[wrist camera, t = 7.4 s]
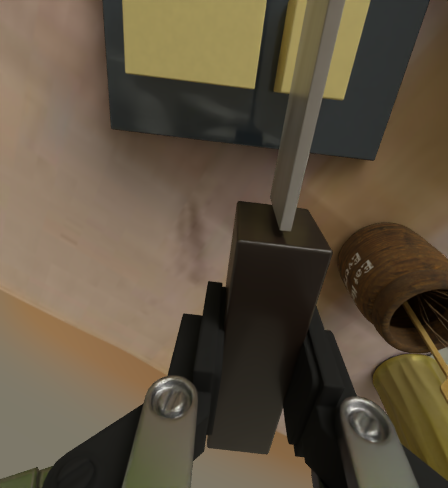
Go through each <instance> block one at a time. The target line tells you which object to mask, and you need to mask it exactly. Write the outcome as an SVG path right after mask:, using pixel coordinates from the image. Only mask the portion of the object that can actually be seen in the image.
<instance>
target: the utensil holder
mask: <svg viewBox="0 0 448 488" xmlns="http://www.w3.org/2000/svg"><path fill="white" fill-rule="evenodd" d="M338 268H339V272H340V275H341V278H342V280H343V282H344V284H345V286H346V288H347V290H348V291H349V293H350V295H351V297H352V299H353V300H354V302H355V304H356V306H357V307H358V309H359V310H360V312H361V313H362V314H363V316H364V317H365V318H366V319H367V320H368V321H369V322H371V323H372V324H373V325H374V326H375V328H376V330H377V331H378V333H379V334H380V335H381V336H382V337H383V338H384V340H385V341H386V342H387V343H388V344H390V345H391V346H392V347H394V348H396V349H398V350H401V351H404V352H409V353H428V352H431V354H432V355H433V357H434V358H435V360H436V362H437V363H438V365H439V367H440V368H441V370H442V372H443V373H444V375H445V377H446V380H445V381H444V382H443V383H442V384H441V385H440V392H441V394H442V395H443V397H444V399H445V401H446V402H447V404H448V366H447V364H446V363H445V361H444V360H443V358H442V356H441V355H440V353H439V352H438V350H441V349H443V348H447V349H448V259H447V258H446V257H445V256H444V255H443V254H442V253H441V252H439V251H438V250H437V249H436V248H434V247H433V246H432V245H431V244H430V243H428V242H427V241H426V240H425V239H423V238H422V237H421V236H419V235H418V234H417V233H415V232H414V231H412V230H411V229H409V228H407V227H405V226H402V225H399V224H395V223H378V224H373V225H370V226H367V227H365V228H363V229H361V230H359V231H358V232H356V233H355V234H353V235H352V236H351V237H350V238H349V239H348V240H347V241H346V243H345V244H344V246H343V247H342V249H341V252H340V254H339V259H338Z"/></svg>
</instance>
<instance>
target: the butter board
mask: <svg viewBox="0 0 448 488" xmlns="http://www.w3.org/2000/svg"><path fill="white" fill-rule="evenodd" d="M429 1H430V0H371V1H370V4H369V8H368V12H367V15H366V19H365V23H364V26H363V30H362V34H361V37H360V41H359V45H358V48H357V52H356V56H355V60H354V63H353V67H352V71H351V74H350V78H349V82H348V85H347V89H346V93H345V96H344V99H343V100H334V99H325V98H322V102H321V106H320V110H319V115H318V119H317V123H316V127H315V131H314V136H313V140H312V144H311V148H310V153H313V154H321V155H330V156H338V157H346V158H354V159H363V160H371V161H374V160H375V157H376V155H377V152H378V149H379V146H380V143H381V140H382V137H383V134H384V131H385V129H386V126H387V123H388V120H389V117H390V114H391V111H392V108H393V105H394V103H395V100H396V97H397V94H398V91H399V88H400V85H401V82H402V79H403V77H404V74H405V71H406V68H407V65H408V62H409V59H410V56H411V53H412V51H413V48H414V45H415V42H416V39H417V36H418V33H419V30H420V27H421V25H422V22H423V19H424V16H425V13H426V10H427V7H428V4H429ZM102 2H103V16H104V31H105V46H106V61H107V76H108V91H109V106H110V120H111V129H115V130H123V131H131V132H139V133H148V134H156V135H164V136H172V137H181V138H189V139H197V140H206V141H214V142H222V143H230V144H239V145H247V146H255V147H263V148H272V149H279V147H280V142H281V136H282V131H283V126H284V121H285V115H286V110H287V105H288V99H289V94H285V93H277V92H274V91H273V90H274V84H275V78H276V72H277V66H278V60H279V54H280V48H281V42H282V36H283V30H284V24H285V18H286V12H287V6H288V2H289V0H267V3H266V10H265V17H264V25H263V32H262V39H261V46H260V53H259V60H258V67H257V74H256V82H255V88H254V89H245V88H237V87H229V86H221V85H213V84H205V83H197V82H189V81H181V80H173V79H165V78H157V77H149V76H141V75H133V74H126V73H125V56H124V33H123V9H122V0H102Z"/></svg>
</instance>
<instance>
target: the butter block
mask: <svg viewBox="0 0 448 488" xmlns="http://www.w3.org/2000/svg"><path fill="white" fill-rule="evenodd" d="M266 3H267V0H122V9H123V33H124V56H125V73H126V74H133V75H141V76H149V77H157V78H165V79H173V80H181V81H189V82H197V83H205V84H213V85H221V86H229V87H237V88H245V89H254V88H255V82H256V74H257V67H258V60H259V53H260V46H261V39H262V32H263V25H264V17H265V10H266Z"/></svg>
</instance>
